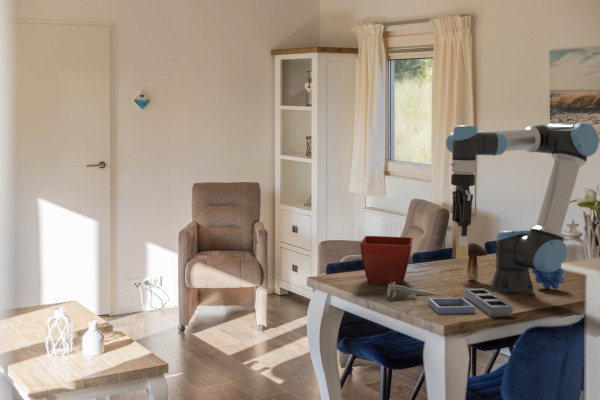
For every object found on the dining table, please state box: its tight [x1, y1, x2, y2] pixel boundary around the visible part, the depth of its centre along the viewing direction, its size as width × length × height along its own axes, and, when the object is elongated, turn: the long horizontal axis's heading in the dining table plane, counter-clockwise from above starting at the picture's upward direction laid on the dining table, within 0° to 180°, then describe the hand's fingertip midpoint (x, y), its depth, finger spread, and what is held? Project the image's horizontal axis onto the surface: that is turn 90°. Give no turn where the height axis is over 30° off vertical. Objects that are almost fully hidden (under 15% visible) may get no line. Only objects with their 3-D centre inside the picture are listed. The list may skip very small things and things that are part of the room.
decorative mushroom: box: [466, 242, 488, 281], centre depth 279 cm, size 11×11×15 cm
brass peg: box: [451, 220, 470, 261], centre depth 230 cm, size 4×4×12 cm
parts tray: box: [427, 297, 476, 315], centre depth 232 cm, size 12×12×3 cm
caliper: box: [386, 281, 441, 299], centre depth 251 cm, size 20×1×6 cm, turn 95°
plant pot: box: [359, 235, 413, 287], centre depth 275 cm, size 19×19×17 cm
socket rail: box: [464, 287, 514, 318], centre depth 235 cm, size 26×7×4 cm, turn 5°
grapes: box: [531, 267, 565, 290], centre depth 264 cm, size 12×7×12 cm, turn 62°
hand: (460, 244), depth 230 cm, fingers closed on brass peg, 4 cm apart
